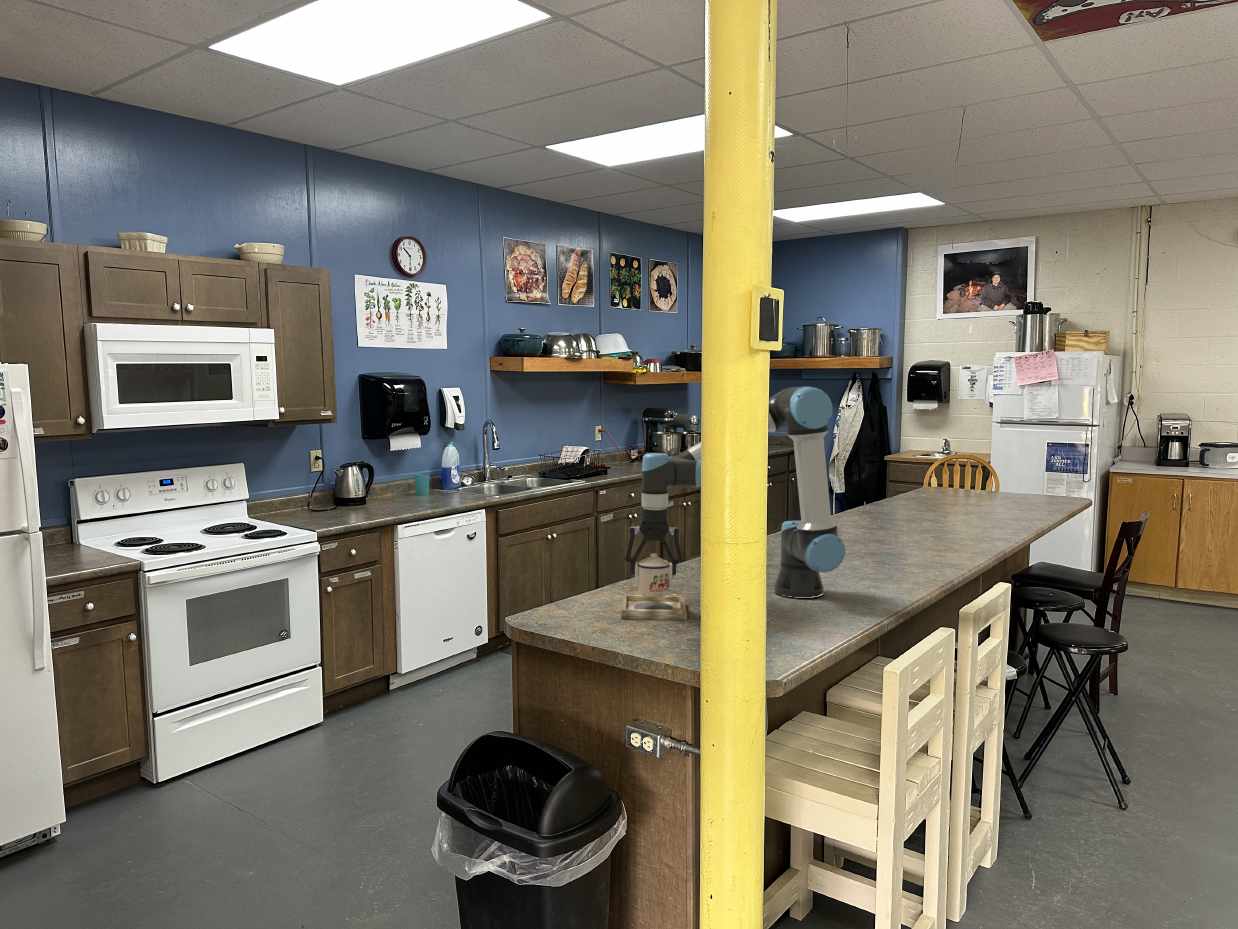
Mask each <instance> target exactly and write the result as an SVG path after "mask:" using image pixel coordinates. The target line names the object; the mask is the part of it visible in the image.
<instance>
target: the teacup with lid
mask: <svg viewBox="0 0 1238 929" xmlns="http://www.w3.org/2000/svg"><path fill="white" fill-rule="evenodd" d="M669 563H670V561H668V560H666V559H663V558H661V557H660V556H658V553H656V552H651V553H650V554H649V556H647V557H646V558H645V559H642V560H638V583H637V593H638V595H641V596H645V597H663V596H669V591H670V587H669V566H670V564H669ZM674 576H675V575H672V580H674Z"/></svg>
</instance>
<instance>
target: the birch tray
mask: <svg viewBox="0 0 1238 929" xmlns="http://www.w3.org/2000/svg"><path fill="white" fill-rule="evenodd" d="M685 602H686V601H685V598H684V595H666V596H663V597H645V596H641V595H640V594H622V597H621V608H620V609H621V610H620V615H621V616H620V618H621V620H651V621H652V620H655V621H657V620H658V621H659V620H660V621H661V620H662V621H665V620H668V621H669V620H670V621H671V620H672V621H687V614H688V613H687V607H686V603H685Z"/></svg>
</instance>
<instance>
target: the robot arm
mask: <svg viewBox="0 0 1238 929" xmlns="http://www.w3.org/2000/svg"><path fill="white" fill-rule="evenodd" d="M768 399H769V420H768V432H769V433H775V432H777V431H778V430H781V429H784V428H786V433H787V436H788V438H790V439H791V440H792V441H793V449H794V450H793V451H794V460H795V468H796V469H795V472H796V479H797V480H796V481H797V490H798V491H797V492H798V500H799V502H798V503H799V510H800V520H787V521H786V520H785V521H784V522H782V523H781V529H780V530H781V531H780V534H781V535H780V568H779V571H778V573H777V577H776V579H775V582H774V586H773V587H774V588H773V592H774V591H775V592H776V593H779V594H781V595H785V596H792V597H812V596H818V595H820V594H822V593H823V592H824V591H825V589H824V588H825V587H824V584H823V581H822V578H821V575H820V573H830V572H832V571H834V570H836V569H837V568H838V567H839V566H840V565H841V564H842V563H843V561H844V559H845V557H846V546H845V543H844V541H843V540H842V538H841V537H839V533H838V523H837V522H836V521H835V520H834V519H832V516H831V514H832V513H831V505H830V504H831V503H830V495H829V484H828V482H829V481H828V472H827V463H826V453H825V452H826V451H825V436H826V435H827V434H828V432H829V424H828V423H829V421H830V420H831V417H832V415H833V410H834V409H833V404H832V401H831V397H829V395H828V394H827V393H826V392H825V391H824V390H822V389H821V388H820V389H819V388H817V387H812V386H790V387H787V388H784V389H782V390H781V391H779V392H777V393H775V394H774V395H772V396H770V397H769V398H768ZM768 432H767V433H768ZM702 441H703V440H701V441H700V442H698V443H696V444H695V445H693V446H691V447H690V448H688V449H686V450H685V451H682V452H681V453H679V454H677V455H676V454H675V455H671V456H669V454H668V453H662V452H661V453H659V452H650V453H645V454H643V457H642V462H641V463H642V464H641V465H642V466H641V507H642V508H641V509H640V514H641V515H640V525H639V526H633V525H632V526H630V528H629V530H630V531H629V532H630V536H629V539H628V544H627V547H626V552H625V555H624V561H625V562H627V563H630V575H632V576H633V575H634V588H635V587H636V588H638V562H639V561H638V559H639V557H640V554H641V553H642V550H643V549H644V547H645V545H646V544H647V541H649V542H650V541H651V542H653V541H656V542H660V541H661V543H662V545H663V547H664V549H665V552H666V553H667V555H668V557H669V560H670V561H671V562H669V564H670V566H669V588H673V579H672V575H674V576H676V574H677V564H679V563H680V564H681V563H683V561H684V560H683V555H682V550H681V546H680V542H679V541H680V540H679V527H677V526H674V527H672V526H670V525H669V519H668V518H669V516H668V515H669V510H668V506H669V488H677V487H678V488H679V487H680V488H686V487H687V488H689V487H690V488H692V487H693V488H700V487H701V443H702ZM701 488H702V487H701ZM639 531H640V533H641V534H642V538H641V540H640V542H639V545H638V546H637V547H636V550H635V552H634V553H633V555H632V557H631V554H632V550H633V546H634V542H635V538H636V535H638V534H639V533H638V532H639ZM668 533H670V535H672V537H673V541H674V546H675V551H676V556H677V557H676V556H674V553H673V551H672V549H671V547H670V545H669V543H668V541H667V539H666V535H667V534H668ZM637 561H638V562H637ZM775 592H774V593H775ZM776 593H775V594H776ZM824 593H825V592H824Z"/></svg>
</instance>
